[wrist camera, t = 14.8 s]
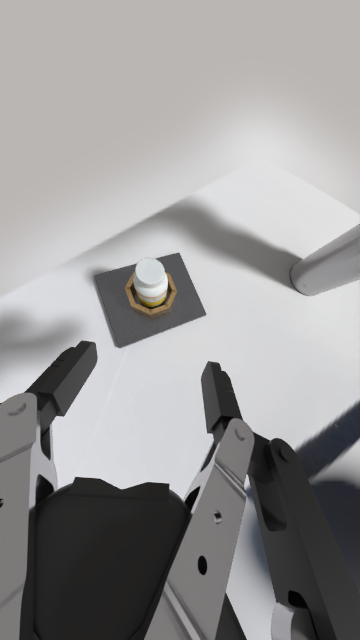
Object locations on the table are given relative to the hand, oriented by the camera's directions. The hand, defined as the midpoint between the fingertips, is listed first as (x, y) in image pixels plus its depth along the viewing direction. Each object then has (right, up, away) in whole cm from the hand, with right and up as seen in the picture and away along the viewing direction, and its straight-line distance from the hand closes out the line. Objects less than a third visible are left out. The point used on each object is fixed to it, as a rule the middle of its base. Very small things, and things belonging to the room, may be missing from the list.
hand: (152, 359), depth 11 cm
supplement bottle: (-4, +8, +19) cm, 21 cm away
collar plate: (-4, +8, +20) cm, 21 cm away
